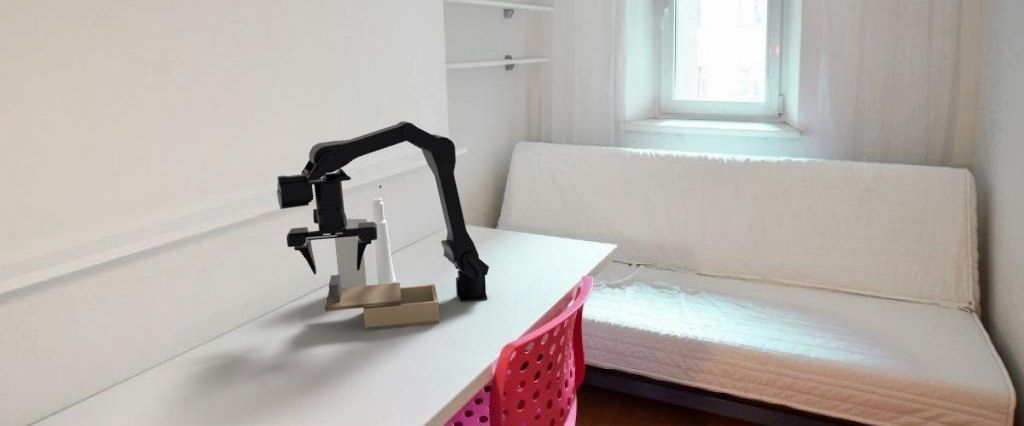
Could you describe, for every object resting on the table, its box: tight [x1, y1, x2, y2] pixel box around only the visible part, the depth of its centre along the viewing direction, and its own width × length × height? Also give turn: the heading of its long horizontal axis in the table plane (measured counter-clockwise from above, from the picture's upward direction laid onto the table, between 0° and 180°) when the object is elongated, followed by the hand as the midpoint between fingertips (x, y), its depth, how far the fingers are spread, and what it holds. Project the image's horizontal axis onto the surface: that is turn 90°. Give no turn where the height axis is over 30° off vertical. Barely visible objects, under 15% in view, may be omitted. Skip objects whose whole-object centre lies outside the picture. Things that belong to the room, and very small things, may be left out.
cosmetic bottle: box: [372, 197, 397, 285], centre depth 184 cm, size 6×6×22 cm
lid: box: [324, 274, 401, 312], centre depth 159 cm, size 16×12×5 cm
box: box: [362, 283, 441, 332], centre depth 161 cm, size 16×12×5 cm
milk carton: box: [334, 218, 378, 288], centre depth 176 cm, size 7×7×19 cm
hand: (337, 272), depth 157 cm, fingers open, 9 cm apart
